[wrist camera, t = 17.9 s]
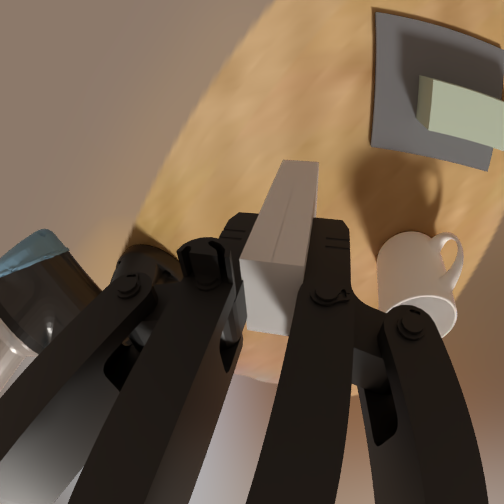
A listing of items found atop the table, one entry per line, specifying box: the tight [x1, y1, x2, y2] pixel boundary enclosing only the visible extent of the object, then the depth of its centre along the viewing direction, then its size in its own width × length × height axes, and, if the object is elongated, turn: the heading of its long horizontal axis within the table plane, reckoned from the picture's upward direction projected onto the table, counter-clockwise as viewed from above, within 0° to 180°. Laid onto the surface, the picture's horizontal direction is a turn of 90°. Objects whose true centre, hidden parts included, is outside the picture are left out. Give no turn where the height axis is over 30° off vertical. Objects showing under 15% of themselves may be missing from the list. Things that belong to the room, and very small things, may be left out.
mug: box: [377, 231, 464, 338], centre depth 28 cm, size 9×12×11 cm
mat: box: [371, 12, 504, 172], centre depth 20 cm, size 14×14×1 cm
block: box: [416, 75, 504, 151], centre depth 18 cm, size 4×4×11 cm
